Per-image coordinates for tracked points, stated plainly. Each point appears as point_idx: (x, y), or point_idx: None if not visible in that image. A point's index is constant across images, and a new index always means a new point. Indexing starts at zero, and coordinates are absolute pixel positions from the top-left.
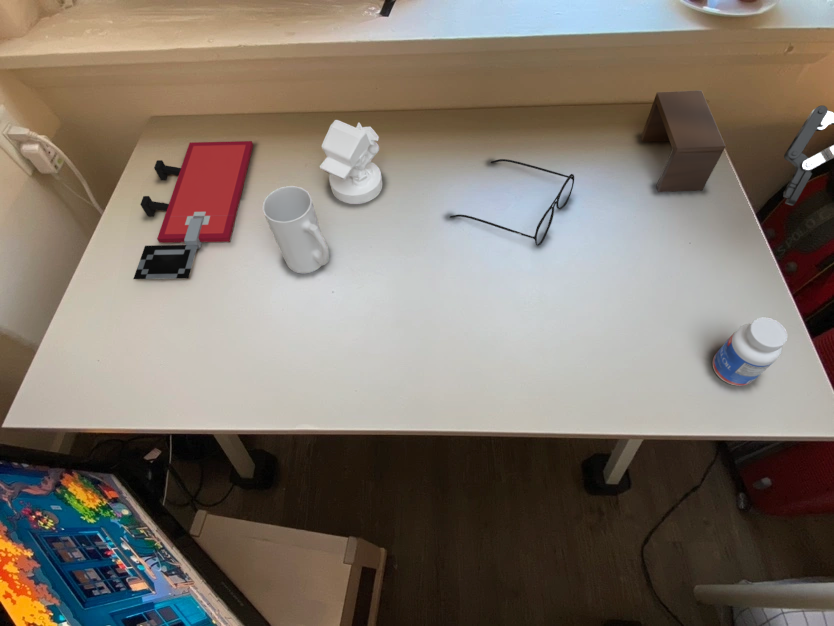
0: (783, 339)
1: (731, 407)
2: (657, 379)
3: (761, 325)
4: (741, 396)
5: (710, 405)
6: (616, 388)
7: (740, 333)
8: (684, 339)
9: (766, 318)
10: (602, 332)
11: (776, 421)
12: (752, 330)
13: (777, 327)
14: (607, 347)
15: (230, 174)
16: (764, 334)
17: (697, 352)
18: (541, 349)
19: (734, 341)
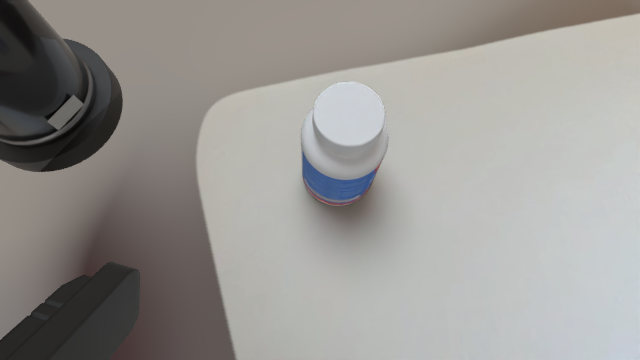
0: (321, 101)
1: None
2: (450, 127)
3: (364, 124)
4: None
5: None
6: (506, 99)
7: (382, 138)
8: (418, 211)
9: (354, 142)
10: (554, 192)
11: (275, 100)
12: (381, 108)
13: (332, 125)
14: (538, 165)
15: None
16: (358, 104)
17: (394, 190)
18: (636, 138)
19: (387, 129)
